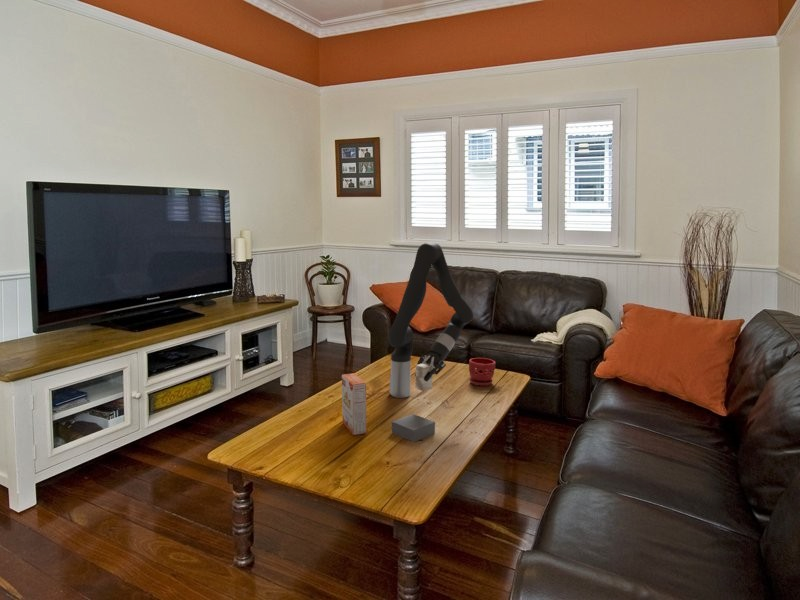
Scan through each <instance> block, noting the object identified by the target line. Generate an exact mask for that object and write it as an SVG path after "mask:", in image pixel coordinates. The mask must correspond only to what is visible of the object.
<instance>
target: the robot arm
mask: <svg viewBox="0 0 800 600" xmlns="http://www.w3.org/2000/svg"><path fill="white" fill-rule="evenodd" d="M431 267H432V268H433V269H434V272H435V273H436V276H437V280H438V285H439V288H440V291H441V294H442V296H443V298H444V300H445V301H446V304H447V305H448V306H449V307H452V308H453V310H454V313H453V314H452V316H451V318H450V320H449V321H448V323H447V325H446V327H445V328H444V330H442V332H441V334H440V335H439V336H438V337H436V340H435V341H434V343H433V344H432V346H431V347H430V348H429V352H428V353H427V354H426V355H425V354H423V353H421V355H420V357H419V359H418V361H417V364H416V365H418V364H425V363H426V364H429V365H430V366H431V368H430V369H429V372H427V374H426V375H425V377H424V380H425V381H428V380H429V379H430V378H431V376H432V375H439V373H441V371H442V370H443V369H444V368H445V367H446V366H447V365H446V363H445V359H446V358H447V356H448V355H449V353H450V352H451V350H452V349H453V347H454V346H455V344H456V342H458V339H459V337H461V333H462V330H463V329H464V327H465V326H466V325H467V324H470V323H471V322H472V321H473V319H474V313H473V310H472V308H471V306H470V305H469V304H468V303H467V302H466V300H465V299H464V298H463V297H462V294H461V292H460V290H459V288H458V287H457V284H456V283H455V280H454V278H453V276H452V274H451V271H450V269H449V266H448V263H447V260H446V257H445V254H444V250H443V248H442V247H441V245H440V244H439V243H437V242H434V241H430V242H429V241H428V242H425V243H422V244H421V245H419V247H418V249H417V251H416V254H415V259H414V263H413V267H412V271H411V273H410V276H409V279H408V282H407V285H406V287H405V290H404V293H403V296H402V298H401V299H402V300H401V302H400V305H399V308H398V311H397V314H396V316H395V319H394V321H393V322H392V325H391V327H390V329H389V331H388V336H387V340H388V343H389V344H390V346H391V347H393V348H394V350H393V351H392V353H391V355H390V358H391V359H390V374H389V394H390V395H391V397H394V398H397V399H398V398H401V399H403V398H404V399H405V398H408V397H410V396H411V369H412V365H411V363H412V361H411V360H412V359H411V358H412V355H413V352H414V351H413V348H414V332H413V330H412V328H411V327H410V323H411V322H412V320H413V319H414V317H415V316H416V314H417V313H418V311H419V310H420V308H421V307H422V304H423V303H424V301H425V300H424V299H425V297H426V293H427V277H428V275H429V272H430V269H431ZM432 369H433V370H432ZM414 376H415V377H416V372H415V373H414Z"/></svg>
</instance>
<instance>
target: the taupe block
mask: <svg viewBox="0 0 800 600" xmlns="http://www.w3.org/2000/svg"><path fill="white" fill-rule="evenodd" d="M430 368H431V366H430V365H429V364H426V363H425V364H421V363H420V364H418V365H417V364H415V373H416V376H415V385H414V387H415V389H417V390H419V391H422V392H425V391H426V392H427V391H429V390H432V389H433V377H434V376H433V375H432V376H431V378H430V379H429V380H428V381H425V380H424V377H425V375H426V374H427V372H429V369H430ZM432 370H433V369H432Z"/></svg>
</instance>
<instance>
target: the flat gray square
mask: <svg viewBox="0 0 800 600" xmlns="http://www.w3.org/2000/svg"><path fill="white" fill-rule="evenodd" d="M435 433H436V421H434V420H430V419H428V418H425V417H422V416H420V415H418V414H415V413H411V414H409V415H406V416H404V417H400V418H398V419H396V420H393V421H391V434H394V435H395V436H398V437H401V438H402V439H405V440H408V441H411V442H412V443H415V442H417V441H420V440H422V439H425V438H426V437H429V436H431V435H434V434H435Z"/></svg>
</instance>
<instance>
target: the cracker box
mask: <svg viewBox="0 0 800 600" xmlns="http://www.w3.org/2000/svg"><path fill="white" fill-rule="evenodd" d="M341 401H342V402H341V404H342V406H341V407H342V413H341V414H342V423H343V425H344V427H346V428H347V430H348V431H349V432H350V433H351V434H352V436H356V435H357V436H358V435H362V434H364V435H365V434H367V383H366V382H365V381H364V380H363V379H362V378H361V377H359V376H358V375H357V374H356V373H343V374H341Z"/></svg>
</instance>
